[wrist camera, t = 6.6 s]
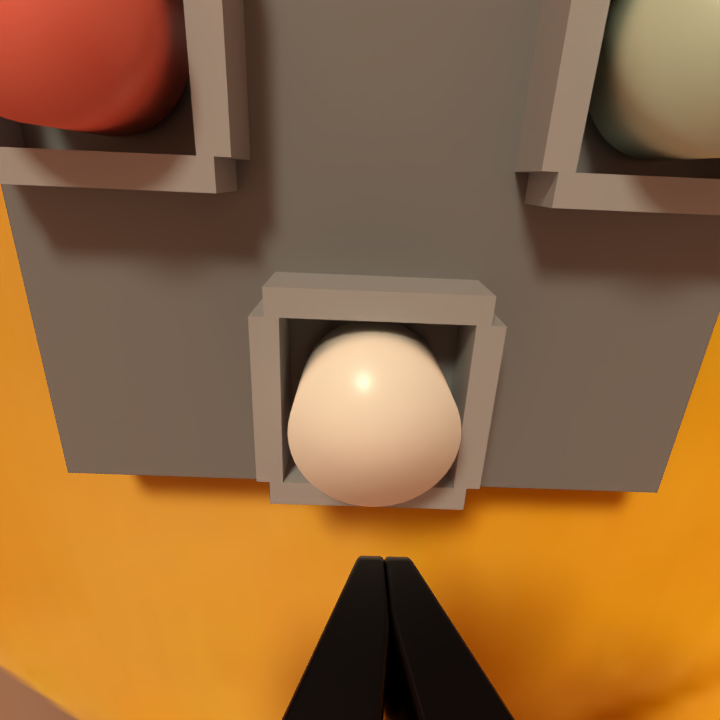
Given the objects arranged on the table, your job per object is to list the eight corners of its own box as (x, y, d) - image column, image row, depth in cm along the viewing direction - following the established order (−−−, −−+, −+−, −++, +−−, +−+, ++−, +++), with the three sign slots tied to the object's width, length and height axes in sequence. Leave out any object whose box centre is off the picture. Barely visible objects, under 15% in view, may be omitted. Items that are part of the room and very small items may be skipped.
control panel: (762, -68, 13) (987, -205, 8) (614, 447, 19) (694, 532, 15) (11, -109, 13) (-191, -274, 8) (110, 429, 19) (30, 510, 14)
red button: (181, -79, 10) (113, -175, 7) (198, 140, 12) (149, 129, 9) (-20, -90, 10) (-164, -191, 7) (26, 132, 12) (-78, 118, 9)
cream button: (449, 322, 14) (472, 359, 11) (434, 448, 15) (450, 509, 12) (301, 316, 14) (286, 352, 11) (302, 444, 15) (288, 504, 12)
